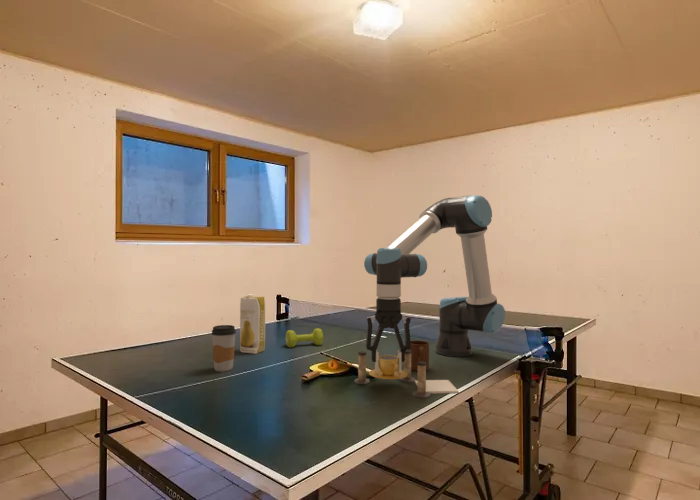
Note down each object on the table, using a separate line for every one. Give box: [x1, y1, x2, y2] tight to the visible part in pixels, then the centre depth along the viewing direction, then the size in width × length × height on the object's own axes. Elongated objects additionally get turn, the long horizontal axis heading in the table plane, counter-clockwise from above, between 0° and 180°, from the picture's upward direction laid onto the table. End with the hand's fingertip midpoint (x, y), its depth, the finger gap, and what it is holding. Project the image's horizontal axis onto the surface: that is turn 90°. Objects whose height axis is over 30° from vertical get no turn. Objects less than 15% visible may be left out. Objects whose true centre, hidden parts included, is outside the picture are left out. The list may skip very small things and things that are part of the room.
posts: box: [354, 350, 431, 399], centre depth 132 cm, size 22×20×10 cm
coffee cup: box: [211, 324, 237, 373], centre depth 151 cm, size 8×8×15 cm
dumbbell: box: [285, 327, 324, 349], centre depth 190 cm, size 16×8×7 cm, turn 111°
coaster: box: [414, 379, 459, 394], centre depth 133 cm, size 11×11×1 cm
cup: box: [368, 354, 408, 380], centre depth 132 cm, size 12×12×5 cm
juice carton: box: [239, 293, 266, 355], centre depth 178 cm, size 9×8×24 cm
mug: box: [410, 340, 430, 372], centre depth 152 cm, size 12×8×9 cm, turn 1°
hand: (388, 372), depth 132 cm, fingers closed on cup, 6 cm apart
